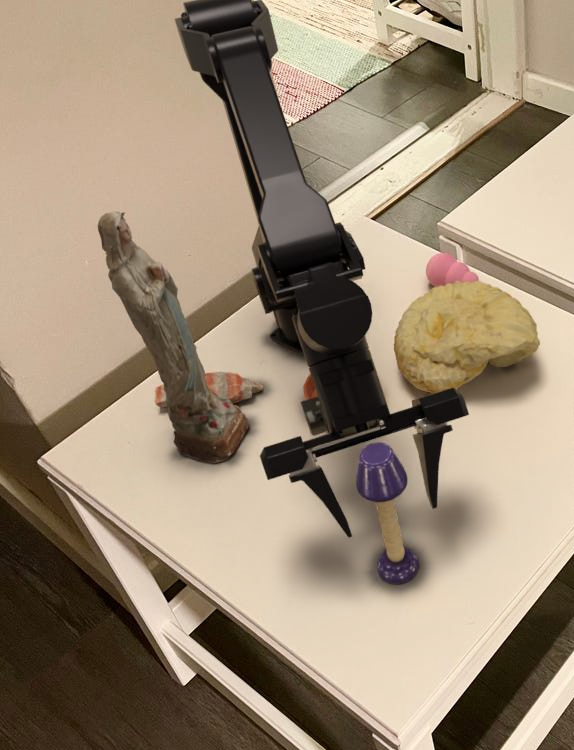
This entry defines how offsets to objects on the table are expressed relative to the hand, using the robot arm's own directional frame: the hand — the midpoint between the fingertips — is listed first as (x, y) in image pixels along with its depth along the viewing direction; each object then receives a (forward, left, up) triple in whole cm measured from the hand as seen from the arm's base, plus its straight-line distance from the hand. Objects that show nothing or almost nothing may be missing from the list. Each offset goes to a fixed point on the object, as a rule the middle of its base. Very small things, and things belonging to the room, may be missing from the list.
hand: (392, 522), depth 83 cm
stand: (-21, +16, -9) cm, 28 cm away
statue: (-30, +4, -9) cm, 31 cm away
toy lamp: (-1, +1, -9) cm, 9 cm away
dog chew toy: (-24, +39, -6) cm, 47 cm away
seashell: (-11, +28, -9) cm, 31 cm away
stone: (-33, +6, -8) cm, 34 cm away
